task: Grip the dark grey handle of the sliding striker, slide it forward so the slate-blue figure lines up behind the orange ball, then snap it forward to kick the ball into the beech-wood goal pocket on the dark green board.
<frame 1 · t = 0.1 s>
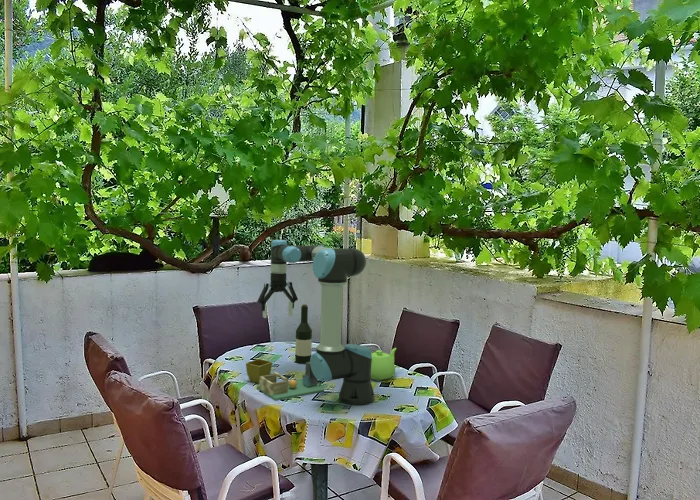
hand: (277, 316, 284), 28 cm above the table, fingers open, 13 cm apart
striker: (310, 373, 266), point 6 cm above the table, slide at 0.0 cm
ball: (292, 383, 261), point 3 cm above the table, touching board
wine bottle: (303, 362, 308), on the table
flower pot: (258, 381, 273), on the table
goal: (273, 392, 259), resting on board
board: (290, 390, 262), on the table
teapot: (380, 377, 286), on the table
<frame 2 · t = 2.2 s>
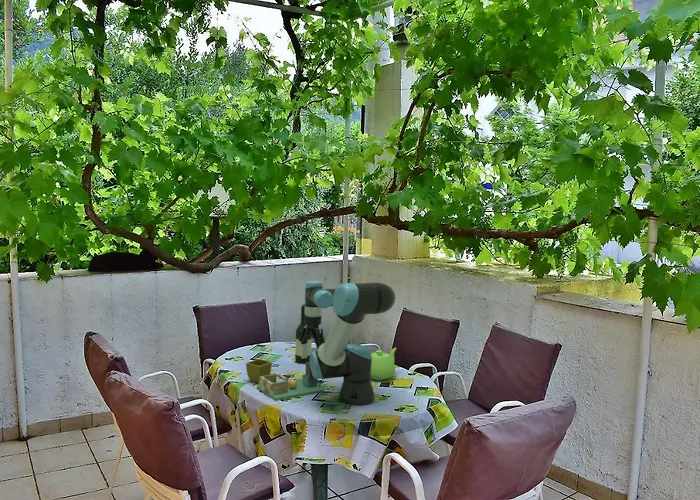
hand: (311, 361, 266), 12 cm above the table, fingers open, 13 cm apart
nothing on the table moved.
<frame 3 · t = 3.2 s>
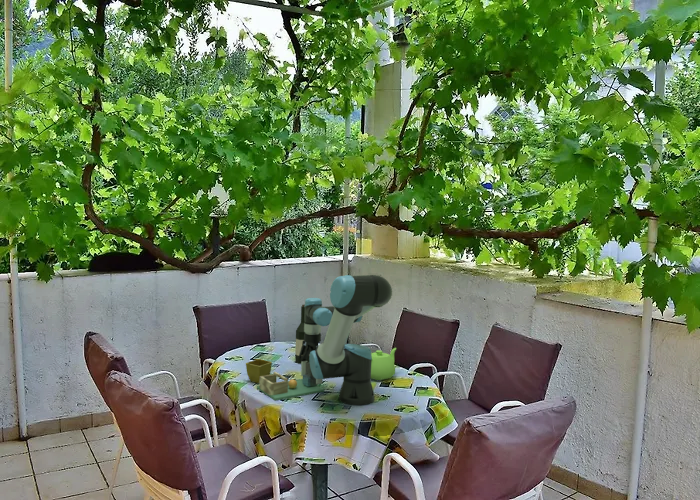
hand: (311, 379, 267), 4 cm above the table, fingers open, 13 cm apart
nothing on the table moved.
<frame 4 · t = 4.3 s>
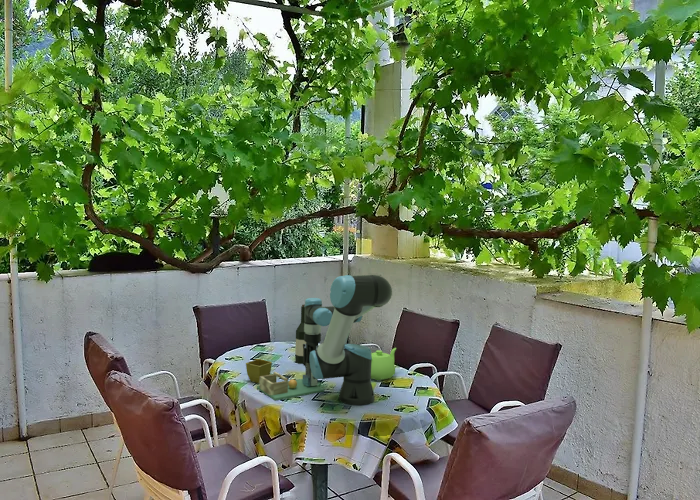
hand: (311, 383, 267), 2 cm above the table, fingers closed on striker, 4 cm apart
striker: (310, 373, 266), point 6 cm above the table, slide at 0.0 cm, touching gripper
everything else where it was.
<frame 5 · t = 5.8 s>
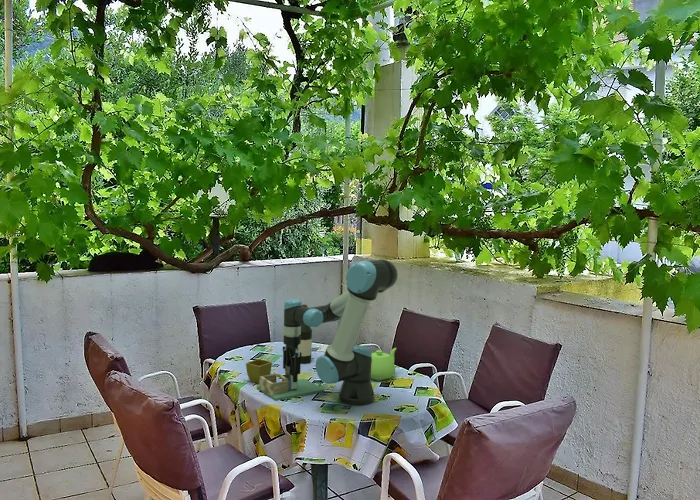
hand: (291, 387, 261), 2 cm above the table, fingers closed on striker, 4 cm apart
striker: (290, 377, 260), point 6 cm above the table, slide at 10.2 cm, touching gripper
ball: (274, 387, 256), point 3 cm above the table, tilted 122°, touching board
everything else where it was.
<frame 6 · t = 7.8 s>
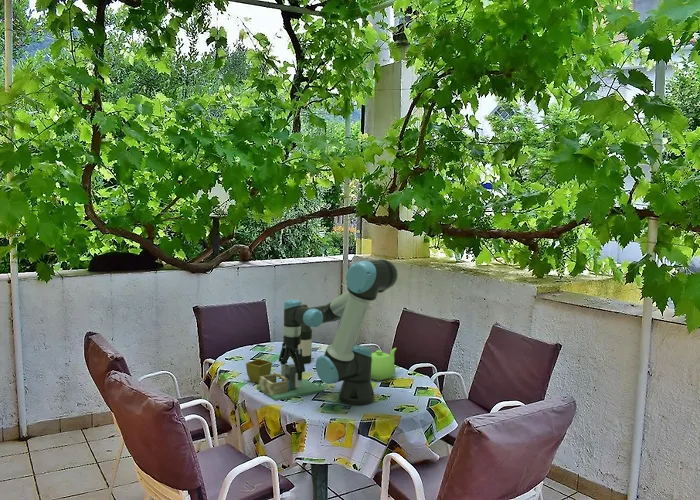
hand: (291, 382, 261), 4 cm above the table, fingers open, 13 cm apart
striker: (290, 377, 260), point 6 cm above the table, slide at 10.2 cm
ball: (278, 387, 258), point 3 cm above the table, tilted 175°, touching board
everything else where it was.
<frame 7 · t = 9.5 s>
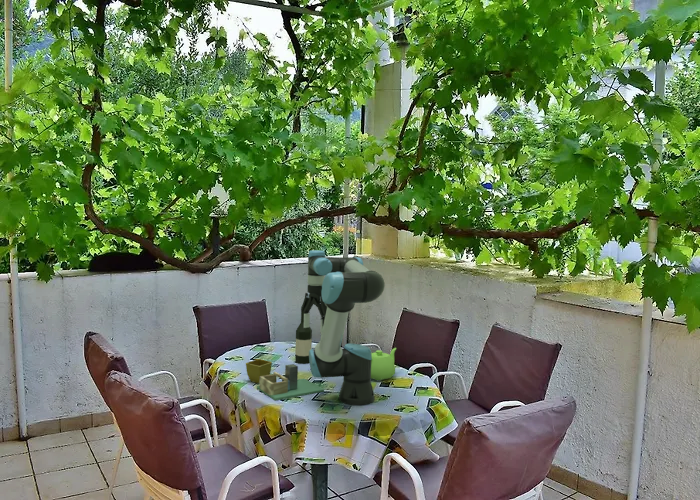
hand: (314, 330, 272), 25 cm above the table, fingers open, 13 cm apart
nothing on the table moved.
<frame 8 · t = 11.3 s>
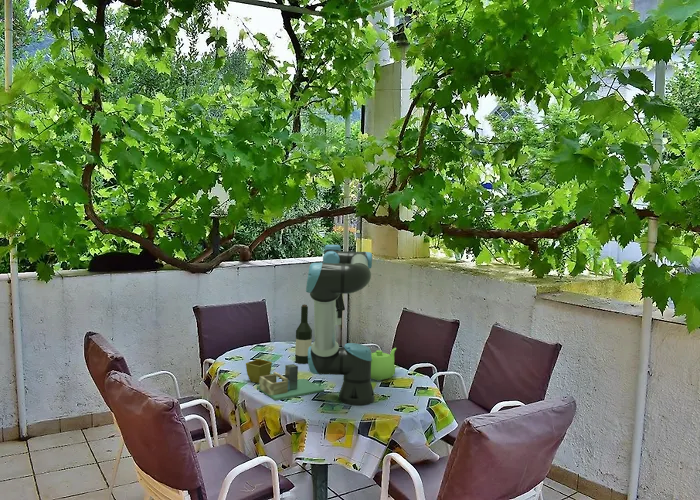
hand: (330, 322, 280), 27 cm above the table, fingers open, 13 cm apart
ball: (277, 387, 257), point 3 cm above the table, tilted 168°, touching board
everything else where it was.
at the end: ball inside the target area (2.3 cm from its centre), point 2.6 cm above the table; striker slide at 10.2 cm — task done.
